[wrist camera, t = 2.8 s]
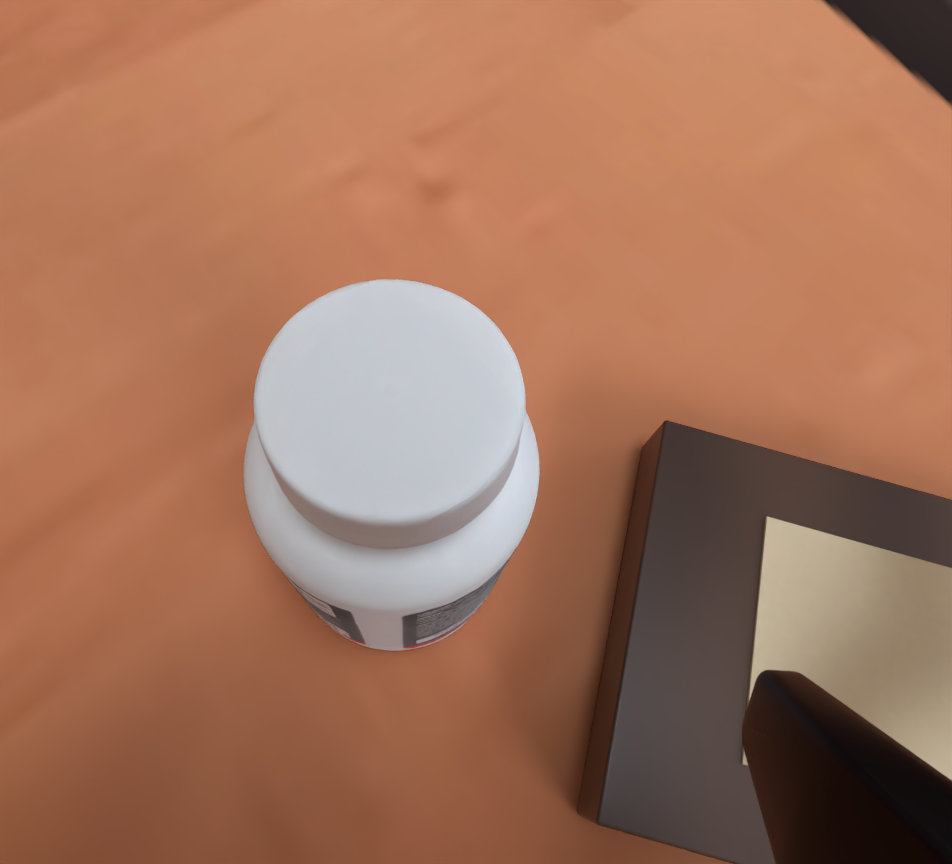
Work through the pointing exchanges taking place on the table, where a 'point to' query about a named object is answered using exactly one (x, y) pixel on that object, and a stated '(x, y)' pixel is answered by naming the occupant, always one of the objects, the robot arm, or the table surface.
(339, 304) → the pill bottle
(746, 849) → the shelf board
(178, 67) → the table surface
